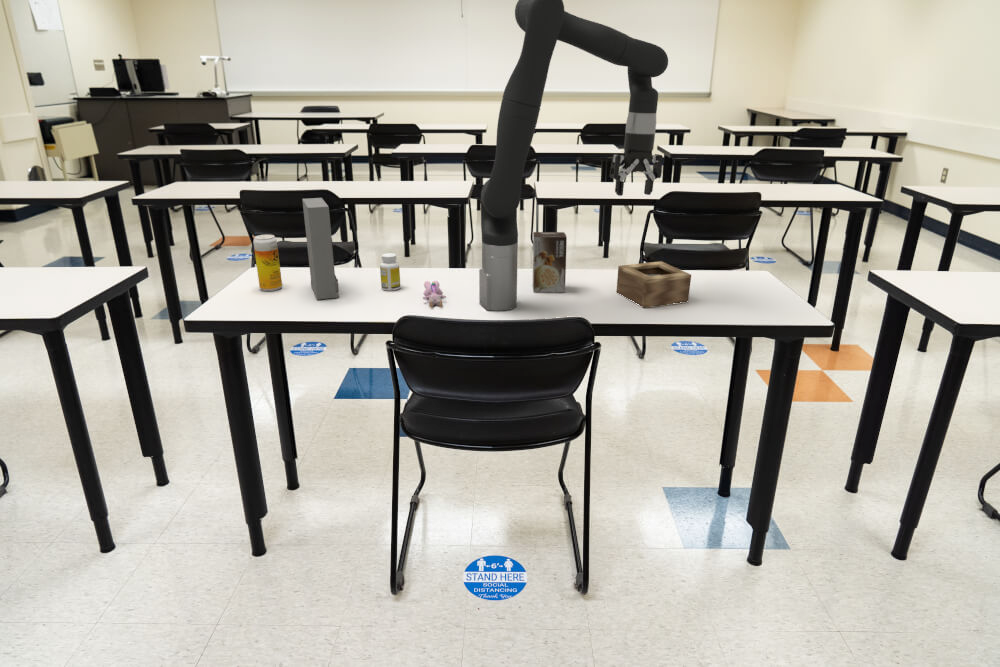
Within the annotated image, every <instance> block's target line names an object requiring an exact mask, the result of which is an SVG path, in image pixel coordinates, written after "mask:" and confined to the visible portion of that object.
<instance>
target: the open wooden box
mask: <svg viewBox="0 0 1000 667" xmlns="http://www.w3.org/2000/svg"><path fill="white" fill-rule="evenodd" d="M617 269H618V270H617V279H616V292H617V293H616V294H618V293H619V294H618V295H620V294H621V295H620V296H622V295H623V296H624V297H623V296H622V297H623V298H625V297H626V298H625V299H627V298H628V299H630V300H632V301H634V302H635V303H637V304H639V305H640V306H642V307H650V308H652V307H651V306H657V307H661V306H660V305H665V306H668V305H667V304H672V305H674V304H673V303H680V302H687V301H688V302H689V297H690V291H691V290H690V289H691V281H692V274H690V273H688V272H686V271H684V270H682V269H680V268H678V267H675V266H672V265H670V264H668V263H666V262H664V261H662V260H661V261H652V262H651V261H650V262H641V263H631V264H623V265H618V267H617ZM650 274H660V275H657V276H647V275H650ZM628 299H627V300H628ZM630 300H629V301H630ZM632 301H631V302H632ZM634 302H633V303H634ZM688 302H687V303H688ZM635 303H634V304H635ZM637 304H636V305H637ZM680 304H681V303H680ZM639 305H638V306H639ZM640 306H639V307H640ZM642 307H641V308H642Z"/></svg>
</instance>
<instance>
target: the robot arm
mask: <svg viewBox="0 0 1000 667" xmlns="http://www.w3.org/2000/svg"><path fill="white" fill-rule="evenodd" d="M514 18H515V21H516V24H517V26H518V27H519V28H520V29H521V30H522V31H523V32H524V38H523V43H522V49H521V52H520V56H519V58H518V60H517V62H516V65H515V67H514V69H513V71H512V73H511V75H510V77H509V78H508V81H507V83H506V86H505V88H504V91H503V94H502V98H501V104H500V107H499V113H498V119H497V128H496V146H495V147H496V148H495V158H494V161H493V162H494V163H493V166H492V170H491V173H490V176H489V179H488V180H487V181H485V182H484V183H483V186H482V188H481V192H480V228H481V231H480V232H481V268H479V270H478V272H479V277H478V278H479V280H478V281H479V284H478V285H479V289H478V290H479V292H478V293H479V300H478V301H479V302H478V303H479V304H480V305H481V306H482V307H483V309H485V310H486V311H509V310H512V309H514V308H515V309H516V307H517V306H518V305H517V302H518V297H517V296H518V251H519V250H518V248H519V247H518V245H519V244H518V243H519V231H518V216H517V214H518V208H519V205H520V201H521V196H522V185H523V184H522V183H523V177H524V170H525V165H526V160H527V157H528V155H529V151H530V148H531V145H532V142H533V137H534V135H535V130H536V127H537V124H538V119H539V115H540V111H541V106H542V100H543V96H544V90H545V87H546V83H547V80H548V73H549V69H550V64H551V59H552V57H553V54H554V50H555V48H556V44H557V41H560V42H562V43H565V44H568V45H570V46H573V47H575V48H576V49H580V50H582V51H584V52H586V53H588V54H590V55H592V56H594V57H596V58H599V59H601V60H604V61H605V62H608V63H610V64H612V65H616V66H619V67H627V80H628V88H629V94H630V95H629V96H630V97H629V105H628V113H627V118H626V121H625V122H626V123H625V133H624V134H625V135H624V142H623V143H624V145H623V154H622V155H619V154H615V153H614V154H612V156H611V161H610V162H611V163H610V169H609V170H610V171H609V178H611V179H614V181H615V187H614V192H615V193H616V195H617V196H619V197H620V196H623V195H624V185H625V179H626V178H627V176H629V175H630V174H631V173H637V172H639V173H643V175H644V177H645V178H646V179H645V182H644V190H643V191H644V192H643V193H644V195H647V196H651V194H652V192H653V191H654V182H655V180H657V179H661V178H662V173H663V172H662V170H663V159H664V158H663V155H662V154H658V153H654V154H653V150H654V147H655V146H654V145H655V139H656V130H657V129H656V128H657V110H658V103H659V92H658V90H657V88H656V89H655V88H654V87H653V85H652V84H653V82H652V78H657V77H659V76H661V75H662V74H664V73H665V71H666V70H667V69H668V65H669V57H668V54H667V52H666V51H665V49H664V48H662V47H661V46H658V45H657V44H653V43H651V42H648V41H645V40H641V39H638V38H634V37H631V36H630V35H627V34H625V33H624V32H621V31H619V30H617V29H616V28H613V27H611V26H608V25H606V24H604V23H603V24H601V23H599V22H596V21H591V20H589V19H586V18H582V17H580V16H578V15H577V16H576V15H575V14H572V13H570V12H568V11H565V4H564V1H563V0H517V2H516V5H515V8H514ZM621 163H623V164H622V166H621ZM651 163H652V167H651V165H650V164H651Z"/></svg>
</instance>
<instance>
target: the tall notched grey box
mask: <svg viewBox="0 0 1000 667" xmlns="http://www.w3.org/2000/svg"><path fill="white" fill-rule="evenodd" d="M302 208H303V217H304V218H303V219H304V226H305V227H304V228H305V236H306V238H305V239H306V247H307V248H306V249H307V256H308V265H309V274H310V276H309V277H310V286H311V288H312V290H313V294H314V296H315V298H316V300H317V301H320V300H325V299H326V300H327V299H337V298H340V288H339V279H338V278H337V276H336V272H335V256H334V247H333V246H334V245H333V238H332V227H331V217H330V208H329V205H328V204H327V203H326V201H325V200H324V198H323V197H315V198H314V197H313V198H302Z"/></svg>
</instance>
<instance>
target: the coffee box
mask: <svg viewBox="0 0 1000 667" xmlns="http://www.w3.org/2000/svg"><path fill="white" fill-rule="evenodd" d="M532 235H533V239H532V244H533V246H532V292H533V293H557V294H558V293H559V294H561V293H562V294H563V293H566V277H567V276H566V273H567V243H568V242H567V240H568V238H567V234H566V233H565V232H563V231H562V232H559V231H546V232H545V231H533V233H532Z"/></svg>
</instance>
